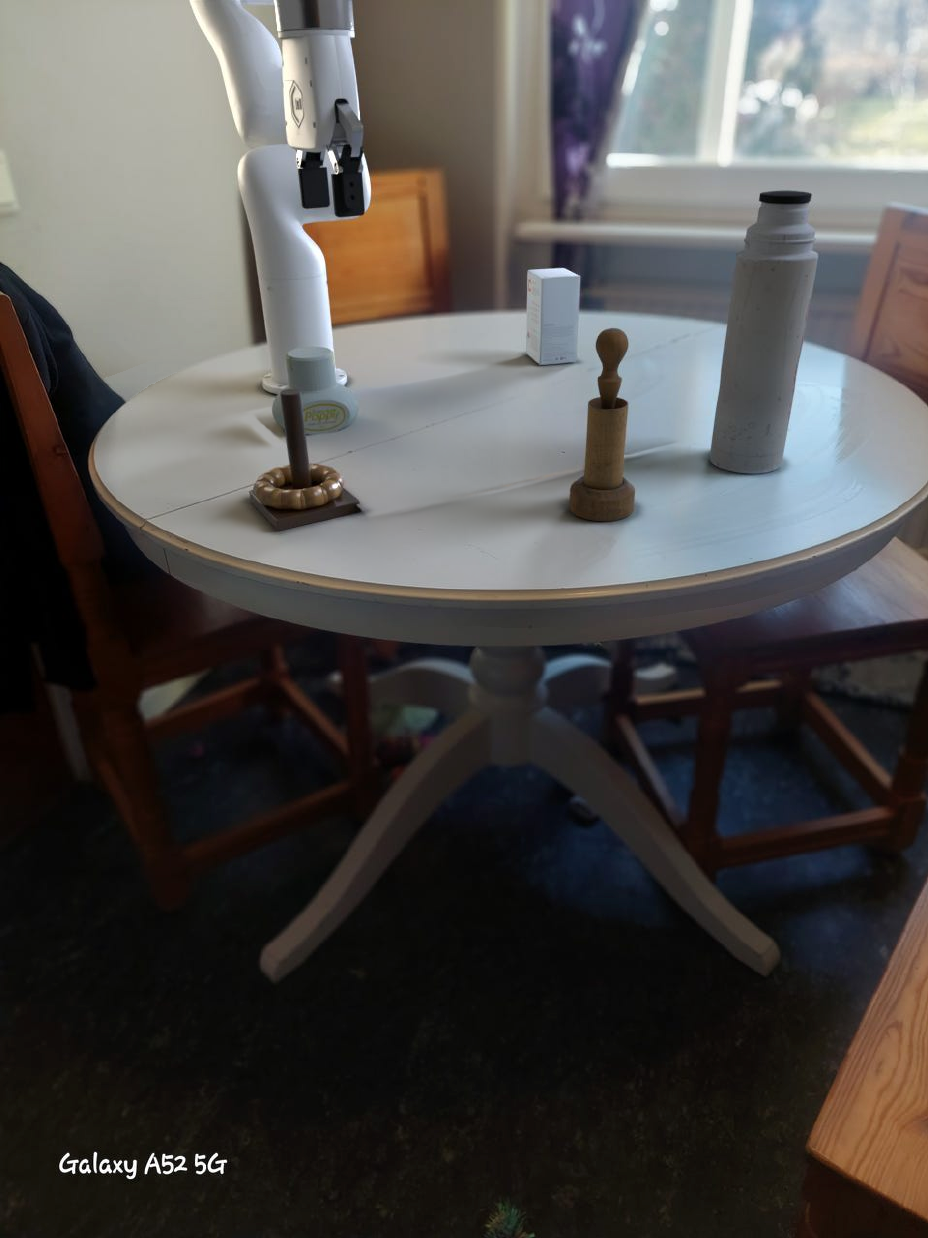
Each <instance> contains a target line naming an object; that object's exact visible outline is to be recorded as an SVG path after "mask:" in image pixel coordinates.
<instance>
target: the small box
mask: <svg viewBox="0 0 928 1238" xmlns="http://www.w3.org/2000/svg"><path fill="white" fill-rule="evenodd" d="M580 293H581V275H580V274H579V275H578V273H577V274H576V273H575V272H573V271H570V270H569V269H567V268H565V267H555V268H539V269H528V270H527V275H526V321H525V322H526V326H525V328H526V329H525V331H526V333H525V354H527V355H528V356H529V357H530V358H531V359H532V360H534V362H536V363H537V364H538V365H539V366H545V365H557V364H558V365H559V364H567V363H576V362H578V345H579V343H578V342H579V322H580V321H579V320H580V319H579V318H580V298H581V297H580V296H581V294H580Z"/></svg>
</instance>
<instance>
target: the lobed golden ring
mask: <svg viewBox="0 0 928 1238" xmlns="http://www.w3.org/2000/svg"><path fill="white" fill-rule="evenodd" d="M309 466H310V475H311V482H314V483H319V484H320V485H318V486H315V487H310V488H306V489H301V490H283V489H279V487H281V486H283V485H288V484H292V480H291V473H290V465H289V464H286V465H281V466H278V467H277V466H276V467H273V468H272V469H271V470H268V471H266V472H264V473H262V474H261V475H259V476H258V478H257V480H256V481H255V483H254V484H253V487H252V490H253V492H254V495H255V496H256V497H257V498H258V499H259V501H260V502H261V503H262V504H264V505H266V506H269V507H273V508H277V509H281V510H303V509H308V508H313V507H317V506H321V505H325V504H326V503H328V502H330V501H332V500H334V499H335V498H337V497H338V496H339V495H340V494H341V492H342V489H343V488H344V486H345V477H344V476H343V475H342V474H341V473H340V472H339V471H337V470H336V469H335V468H334V467H332V466H329V465H324V464H319V463H309Z"/></svg>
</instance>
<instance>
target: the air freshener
mask: <svg viewBox="0 0 928 1238" xmlns="http://www.w3.org/2000/svg"><path fill="white" fill-rule="evenodd" d="M334 358H335V353H334V354H333V352H332V351H331V350H330V349H328V348H323V347H305V348H298V349H294V350H291V351H290V352H288V354H287V355H286V363H287V372H288V380H289V386H287V387H286V388H284V389H283V390H287V389H297V390H300V391H301V400H302V408H303V416H304V425H305V433H306V436H317V435H323V434H331V433H336V432H339V431H342V430H344V429H346V428H348V427H349V426H350V425H352V423H353V422H354V421H355V420H356V418H357V416H358V413H359V410H360V404H359V400H358V398H357V396H356V395H355V393H354V392H353V391H352V390H351V389H350V388H349V387H347V386H346V385H345V384H344V385H342V384H340V383H338V382H336V373H335V368H336V362H335V363H334ZM283 390H282V391H283ZM271 414H272V416H273V419H274V420H275V422H276V424H277V425H279V426H280V428H282V429H283V430H285V427H284V420H283V412H282V405H281V397H280V393H279V394H276V396H275V398H274V399H273V401H272V405H271Z"/></svg>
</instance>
